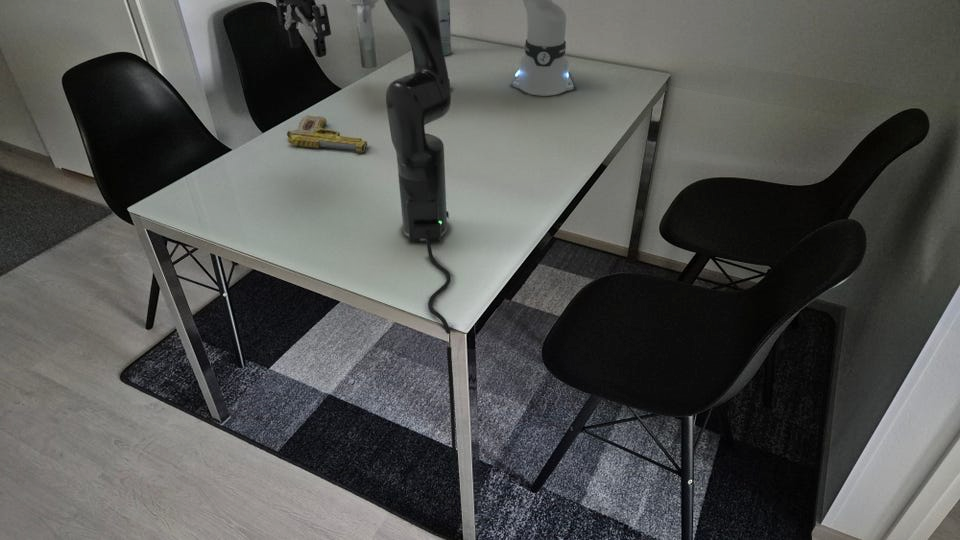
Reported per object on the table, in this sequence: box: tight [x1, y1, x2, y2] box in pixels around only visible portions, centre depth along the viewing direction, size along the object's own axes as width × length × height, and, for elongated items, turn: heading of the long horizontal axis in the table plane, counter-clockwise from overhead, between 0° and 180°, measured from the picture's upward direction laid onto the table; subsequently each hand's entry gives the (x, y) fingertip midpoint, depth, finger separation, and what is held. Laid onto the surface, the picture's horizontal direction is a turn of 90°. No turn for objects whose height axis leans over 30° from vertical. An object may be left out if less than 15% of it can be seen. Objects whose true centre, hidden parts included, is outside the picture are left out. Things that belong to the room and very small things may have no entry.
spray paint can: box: [437, 0, 452, 57], centre depth 212 cm, size 6×6×20 cm
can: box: [357, 26, 378, 69], centre depth 178 cm, size 4×4×11 cm
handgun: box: [286, 115, 368, 154], centre depth 166 cm, size 2×23×15 cm
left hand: (308, 51), depth 132 cm, fingers open, 8 cm apart
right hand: (367, 45), depth 177 cm, fingers closed on can, 4 cm apart
